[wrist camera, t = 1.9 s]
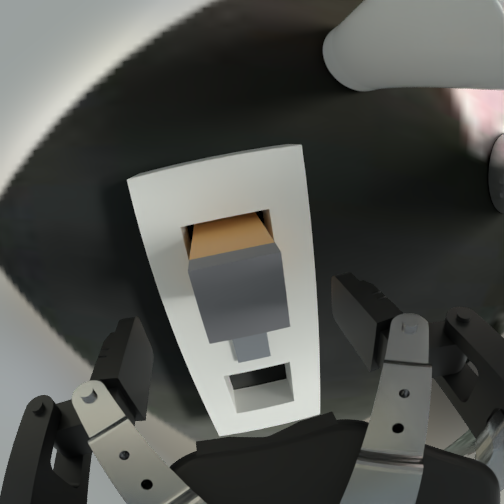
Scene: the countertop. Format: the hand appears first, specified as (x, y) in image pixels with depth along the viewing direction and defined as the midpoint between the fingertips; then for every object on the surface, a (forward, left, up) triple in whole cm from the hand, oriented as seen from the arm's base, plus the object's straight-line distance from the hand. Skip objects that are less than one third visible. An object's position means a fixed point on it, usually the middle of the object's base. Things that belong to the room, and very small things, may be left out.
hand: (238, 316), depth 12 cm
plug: (0, 0, -10) cm, 10 cm away
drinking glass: (-11, -12, -10) cm, 19 cm away
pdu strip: (0, +6, -10) cm, 11 cm away
